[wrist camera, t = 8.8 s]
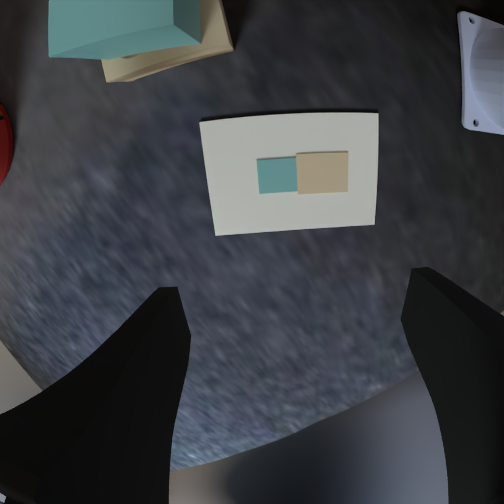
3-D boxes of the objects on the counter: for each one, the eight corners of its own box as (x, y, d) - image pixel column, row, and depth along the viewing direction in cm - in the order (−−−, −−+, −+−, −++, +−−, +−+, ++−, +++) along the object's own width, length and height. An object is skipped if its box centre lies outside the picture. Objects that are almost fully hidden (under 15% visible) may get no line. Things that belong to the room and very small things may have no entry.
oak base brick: (212, -37, 12) (202, -60, 9) (234, 51, 15) (229, 43, 12) (113, -4, 13) (86, -17, 9) (132, 81, 15) (106, 82, 12)
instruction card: (377, 113, 16) (379, 113, 16) (373, 223, 19) (374, 225, 19) (200, 121, 17) (198, 122, 16) (216, 234, 20) (215, 236, 20)
